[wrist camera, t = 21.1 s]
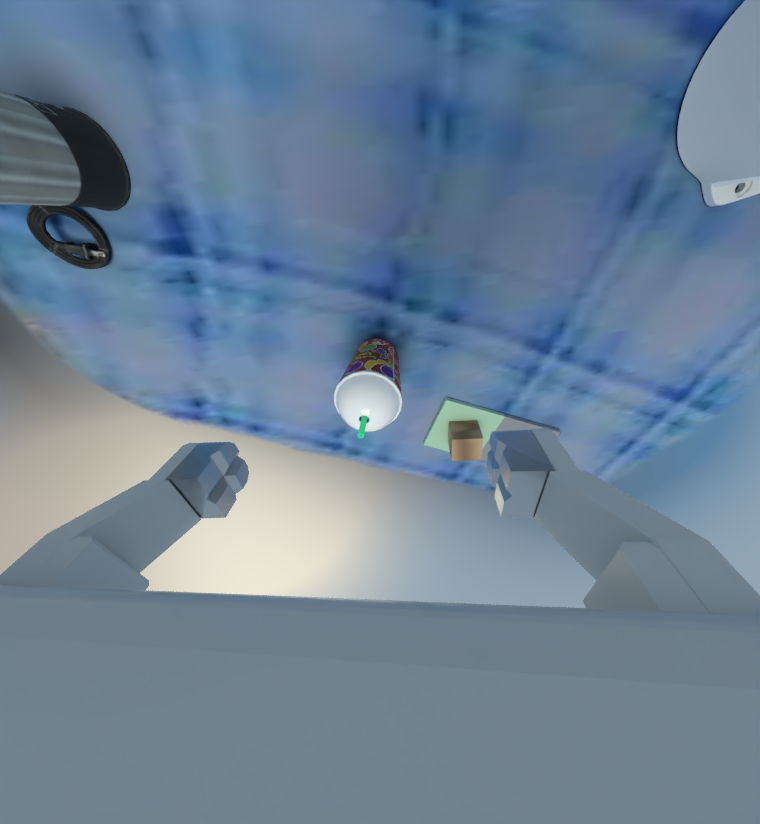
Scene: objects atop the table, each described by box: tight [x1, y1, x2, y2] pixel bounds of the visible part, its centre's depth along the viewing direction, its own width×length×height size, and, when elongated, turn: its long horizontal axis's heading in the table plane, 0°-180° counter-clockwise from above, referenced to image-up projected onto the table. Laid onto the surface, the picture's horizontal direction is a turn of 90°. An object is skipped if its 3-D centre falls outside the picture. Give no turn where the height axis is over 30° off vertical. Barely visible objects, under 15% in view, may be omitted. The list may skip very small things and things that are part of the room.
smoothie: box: [334, 339, 402, 438], centre depth 36 cm, size 8×8×20 cm
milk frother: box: [0, 90, 130, 269], centre depth 29 cm, size 14×16×15 cm
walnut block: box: [448, 420, 483, 461], centre depth 49 cm, size 5×5×5 cm
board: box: [423, 397, 561, 462], centre depth 52 cm, size 22×11×1 cm, turn 75°
